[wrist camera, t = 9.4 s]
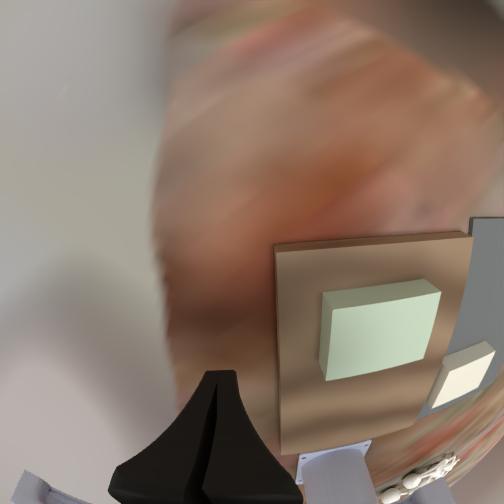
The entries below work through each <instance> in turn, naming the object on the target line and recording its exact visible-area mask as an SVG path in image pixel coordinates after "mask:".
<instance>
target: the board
mask: <svg viewBox="0 0 504 504" xmlns="http://www.w3.org/2000/svg"><path fill="white" fill-rule="evenodd" d="M473 239H474V237H473V236H471V235H468V234H466V233H464V232H461V231H460V232H444V233H429V234H413V235H399V236H384V237H369V238H355V239H341V240H327V241H313V242H299V243H286V244H273V247H274V267H275V288H276V312H277V340H278V376H279V436H280V452H281V455H290V454H298V453H306V452H312V451H318V450H324V449H329V448H334V447H339V446H344V445H348V444H353V443H357V442H361V441H365V440H368V439H372V438H376V437H379V436H382V435H386V434H389V433H392V432H395V431H398V430H401V429H404V428H407V427H409V426H412V425H413V424H414V422H415V420H416V418H417V417H418V415H419V413H420V411H421V409H422V407H423V405H424V403H425V401H426V399H427V397H428V394H429V392H430V390H431V388H432V386H433V383H434V381H435V379H436V376H437V374H438V372H439V369H440V367H441V364H442V362H443V359H444V356H445V354H446V351H447V348H448V345H449V342H450V339H451V336H452V333H453V330H454V327H455V324H456V320H457V317H458V313H459V310H460V306H461V302H462V298H463V294H464V290H465V285H466V281H467V276H468V271H469V265H470V259H471V253H472V246H473ZM418 279H425V280H427V281H428V282H429V283H431V284H432V285H433V286H435V287H436V288H437V289H438V290H440V291H441V296H440V300H439V304H438V309H437V313H436V317H435V321H434V324H433V328H432V332H431V335H430V338H429V342H428V345H427V348H426V351H425V354H424V357H423V359H420V360H417V361H413V362H410V363H406V364H403V365H399V366H395V367H391V368H387V369H383V370H379V371H375V372H371V373H366V374H361V375H356V376H351V377H346V378H341V379H335V380H329V381H325V378H324V375H323V372H322V369H321V366H320V363H319V348H320V334H321V318H322V296H323V292H328V291H337V290H346V289H354V288H362V287H370V286H377V285H385V284H392V283H399V282H405V281H412V280H418Z"/></svg>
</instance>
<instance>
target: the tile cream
mask: <svg viewBox="0 0 504 504" xmlns="http://www.w3.org/2000/svg"><path fill="white" fill-rule="evenodd" d="M494 354H495V350H494V349H493V348H492V347H491V346H490V345H489V344H488V343H487V342H486V341H483V342H481V343H478V344H476V345H473V346H471V347H469V348H466V349H463V350H461V351H458V352H455V353H453V354H450V355H447V356H444V359H443V362H442V364H441V367H440V369H439V372H438V374H437V376H436V379H435V381H434V383H433V386H432V388H431V390H430V392H429V394H428V397H427V399H426V401H427V403H428V404H429V406H430V408H431V409H432V408H435V407H437V406H439V405H442V404H444V403H446V402H449V401H451V400H453V399H455V398H457V397H460V396H462V395H464V394H466V393H468V392H470V391H472V390H474V389H476V388H477V387H478V386H479V384H480V382H481V381H482V379H483V377H484V375H485V373H486V371H487V369H488V367H489V365H490V362H491V360H492V358H493V356H494Z"/></svg>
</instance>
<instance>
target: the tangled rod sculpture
mask: <svg viewBox="0 0 504 504" xmlns="http://www.w3.org/2000/svg"><path fill="white" fill-rule="evenodd" d="M455 458H456V455H454V456H453V457H451V458H449V459H448V458H446V459H444V460H442V461H441V462H440V463H438V464H434V465H433V466H431V467H430V469H429V470H428V471H426V472H424V473H422V474H415V473H412V474H409V475H408V476H406V477H405V479H404V481H403V485H404V487H406V488H408V490H407V491H406V492H400V491H399V490H398V489H397V488H390V489H388V490H386V491H385V492H384V493H383V494H382V497H381V500H382V502H383V503H384V504H390V503H392V502H395V501H398V500H399V499H400V496H401V495H405V494H408V495H409V496H410V495H411V494H412V493H413V492H414V491H415V490H417V489H418V488H420V487H422V486H424V485H426V484H428V483H430V482H432V481H434V480H436V479H438V478H440V477H444V476H445V475H446V474H447V473H448V471H450V470H451V469H452V467H453V466H454V465H455V464H456V462H457V461H459V460H460V459H457V460H456V459H455ZM451 459H453V460H451ZM449 460H451V461H450V462H448V461H449ZM445 471H446V473H445ZM444 473H445V474H444ZM432 477H435V479H434V480H433V479H432ZM406 497H408V496H406Z"/></svg>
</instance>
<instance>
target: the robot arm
mask: <svg viewBox="0 0 504 504" xmlns="http://www.w3.org/2000/svg"><path fill="white" fill-rule="evenodd" d="M371 442H372V440H371V439H368V440H365V441H361V442H357V443H353V444H348V445H344V446H339V447H334V448H329V449H324V450H318V451H312V452H306V453H299V459H298V467H297V474H296V483H295V481H294V480H293V478H292V476H291V475H290V474H289V473H288V472H287V471H286V470H285V469H284V468H283V467H282V466H281V464H280V463H279V462H278V461H277V460H276V459H275V457H274V456H273V455H272V454H271V452H270V451H269V450H268V448H267V447H266V446H265V444H264V443H263V441H262V440H261V438H260V437H259V435H258V434H257V432H256V430H255V429H254V427H253V425H252V423H251V421H250V419H249V417H248V415H247V413H246V411H245V408H244V406H243V403H242V401H241V398H240V394H239V388H238V382H237V375H236V371H234V370H217V371H206V372H205V374H204V376H203V378H202V380H201V382H200V383H199V385H198V387H197V389H196V390H195V392H194V394H193V395H192V397H191V398H190V400H189V402H188V403H187V405H186V406H185V407H184V409H183V410H182V411H181V413H180V414H179V415H178V417H177V418H176V419H175V420H174V422H173V423H172V424H171V425H170V426H169V427H168V428H167V429H166V430H165V431H164V432H163V433H162V434H161V435H160V436H159V437H158V438H157V439H156V440H155V441H154V442H153V443H151V444H150V445H149V446H148V447H146V448H145V449H144V450H142V451H141V452H140V453H138V454H137V455H136V456H134V457H132V458H131V459H129V460H128V461H126V462H124V463H122V464H121V465H119V466H117V467H116V469H115V471H114V473H113V476H112V479H111V481H110V485H109V488H108V492H109V494H110V495H111V496H112V497H113V498H114V499H116V500H117V501H118V502H120V503H121V504H303V496H302V493H301V491H300V489H299V488H298V486H297V484H304V490H305V496H306V503H307V504H379V502H378V499H377V496H376V493H375V490H374V487H373V484H372V481H371V478H370V475H369V472H368V469H367V466H366V463H365V460H364V456H365V454H366V452H367V450H368V448H369V446H370V444H371ZM11 502H12V503H14V504H91V503H88V502H85V501H82V500H80V499H78V498H75V497H73V496H70V495H68V494H66V493H63V492H61V491H59V490H57V489H55V488H53V487H51V486H50V485H49V484H48V483H47V482H45V481H44V480H43V479H41V478H39V477H38V476H36V475H34V474H32V473H30V472H29V471H27V470H24V472H23V474H22V476H21V478H20V480H19V483H18V485H17V487H16V489H15V491H14V494H13V496H12V498H11ZM390 504H456V502H455V500H454V498H453V496H452V493H451V492H450V489H449V487H448V485H447V483H446V481H445V478H444V477H440V478H438V479H436V480H434V481H432V482H430V483H428V484H426V485H424V486H422V487H420V488H418V489H417V490H415V491H414V492H413V493H412V494H411V495H410V496H408V497H405V498H403V499H400V500H398V501H395V502H392V503H390Z"/></svg>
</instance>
